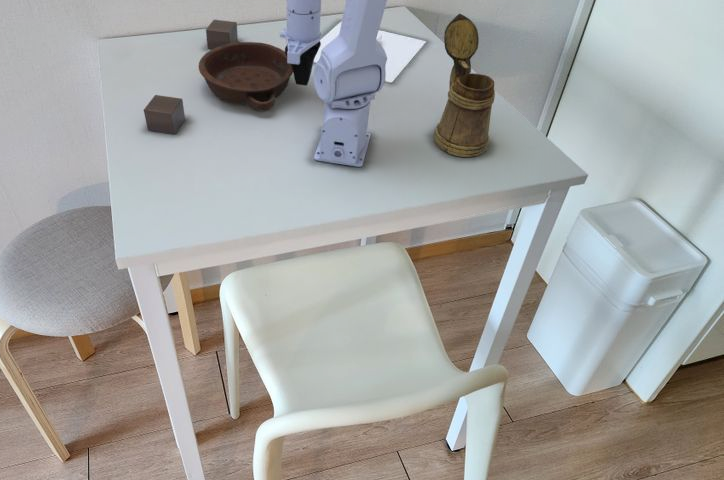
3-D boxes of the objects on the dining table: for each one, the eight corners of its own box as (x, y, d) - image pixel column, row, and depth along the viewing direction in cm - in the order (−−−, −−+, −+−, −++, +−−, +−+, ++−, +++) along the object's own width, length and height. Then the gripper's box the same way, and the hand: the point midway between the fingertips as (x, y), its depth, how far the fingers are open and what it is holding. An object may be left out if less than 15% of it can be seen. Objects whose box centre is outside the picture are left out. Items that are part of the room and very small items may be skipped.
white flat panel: (384, 41, 125) (387, 21, 122) (370, 56, 120) (372, 36, 117) (347, 31, 127) (348, 12, 124) (331, 46, 123) (332, 27, 120)
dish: (216, 126, 102) (213, 100, 98) (190, 67, 116) (186, 42, 112) (311, 110, 106) (311, 84, 102) (274, 55, 120) (274, 30, 116)
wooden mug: (460, 110, 107) (484, 9, 93) (497, 153, 98) (530, 48, 85) (414, 117, 105) (433, 15, 92) (448, 161, 96) (474, 55, 83)
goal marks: (174, 134, 100) (171, 113, 97) (147, 130, 101) (143, 109, 98) (238, 41, 124) (236, 22, 121) (215, 38, 125) (213, 19, 122)
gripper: (290, -12, 103) (290, 61, 113) (268, 23, 94) (270, 100, 104) (330, -8, 102) (326, 66, 112) (312, 28, 92) (309, 105, 102)
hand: (302, 83), depth 108 cm, fingers closed, pressing on dish
